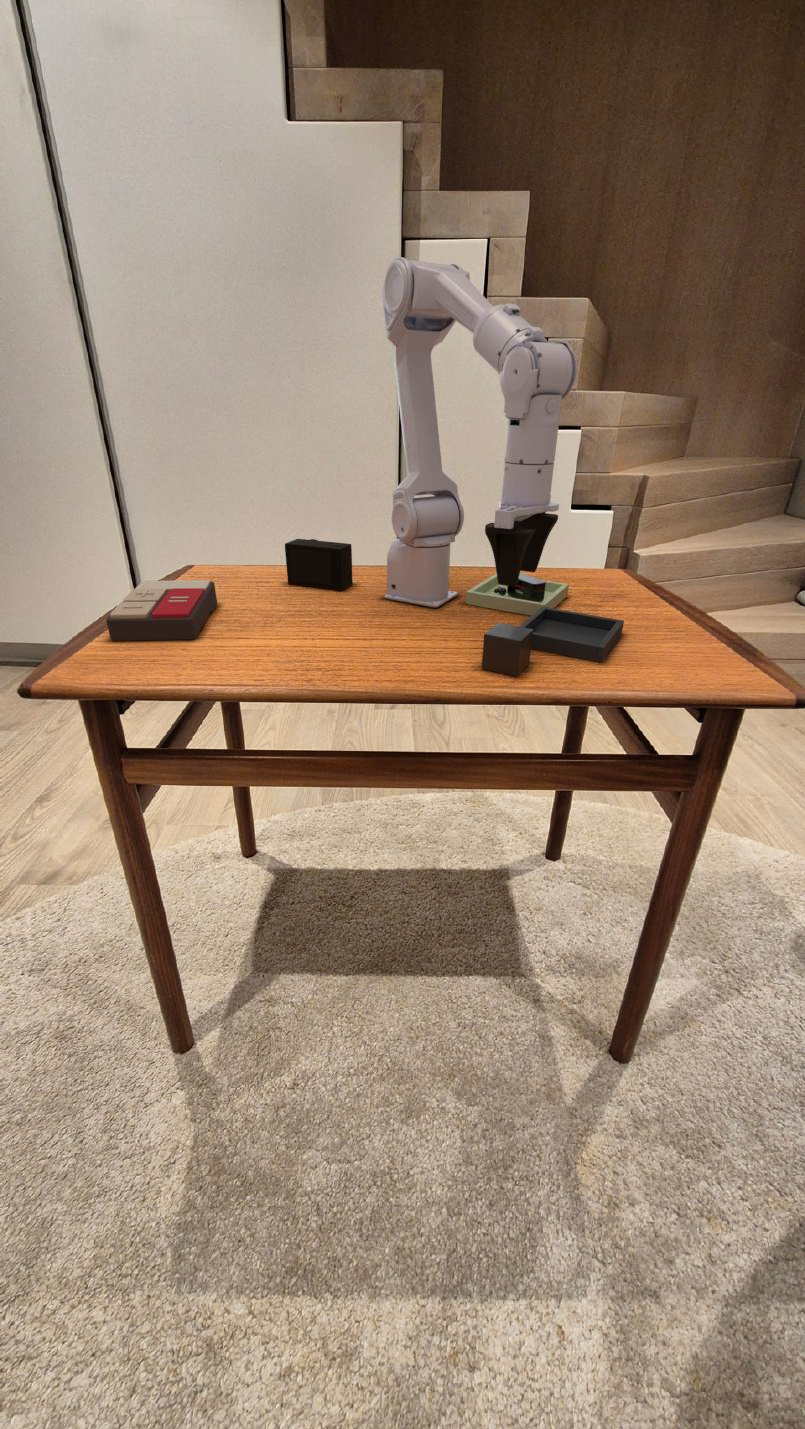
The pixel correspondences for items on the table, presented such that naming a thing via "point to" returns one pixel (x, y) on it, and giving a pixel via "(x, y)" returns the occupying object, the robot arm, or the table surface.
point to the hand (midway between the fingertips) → (517, 577)
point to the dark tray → (573, 633)
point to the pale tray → (489, 599)
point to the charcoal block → (507, 649)
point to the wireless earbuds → (525, 588)
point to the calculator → (163, 611)
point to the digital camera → (319, 564)
